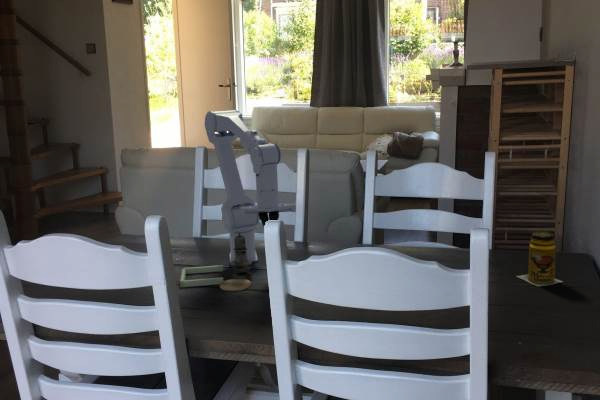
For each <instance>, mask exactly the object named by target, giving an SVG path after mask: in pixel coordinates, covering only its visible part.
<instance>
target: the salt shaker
mask: <svg viewBox="0 0 600 400" xmlns="http://www.w3.org/2000/svg"><path fill="white" fill-rule="evenodd" d="M234 241H235V248H234V251H235V260H234V261H232V262H231V263H230V262H229V264H230V266H231V268H232V270H233V271H234V273H233V274H232V275H231V277H232V279H249V278H250V277H252V275H253V274H252V272H250V270H251V267H252V264H253V262H252V261H251V260H248V259H247V256H246V250H247V248H246V244H245V237H244V236H241V235H240V232H239V235H238V236H236V237H235V239H234Z"/></svg>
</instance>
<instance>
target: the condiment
mask: <svg viewBox="0 0 600 400" xmlns="http://www.w3.org/2000/svg"><path fill="white" fill-rule="evenodd" d="M530 236H531V239H530V243H529V248H528V251H529V252H528V271H527V272H528V274H522V275H516V278H518V279H521V280H524V281H525V282H527V283H529V284H532V285H534V286H536V287H544V286H550V285H555V284H559V283H563V282H564V281H563V280H560V279H557V278H556V277H555V276H556V272H555V271H556V256H557V255H556V253H557V247H556V244H555V238H556V237H555V235H554V233H552V232H546V231H536V232H533V233H531V235H530Z"/></svg>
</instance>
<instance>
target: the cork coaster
mask: <svg viewBox="0 0 600 400" xmlns="http://www.w3.org/2000/svg"><path fill="white" fill-rule="evenodd" d="M251 286H252V281H250V280H249V279H247V278H242V279H238V278H231V279H227V280H223V282H222V283H220V284H219V288H220V289H221V290H222V291H226V292H238V291H243V290H244V291H245V290H246V289H249V288H251Z"/></svg>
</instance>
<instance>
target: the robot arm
mask: <svg viewBox="0 0 600 400" xmlns="http://www.w3.org/2000/svg"><path fill="white" fill-rule="evenodd" d="M204 129H205V133H206V135H207V139H208V142H209V143H211V144H213V147H214V151H215V155H216V159H217V161H218V166H219V170H220V174H221V177H222V182H223V185H224V189H225V194H226V197H227V199H226V201H224V203H223V204H222V205H221V207H220V209H221V210H220V212H221V220H222V221H221V222H222V225H223V227H224V228H225V229H226V231H229V246H230V252H229V264H230V263H231V262H232V261H234V260H235V251H234V248H235V241H234V239H235V237H236V236H238V235H239V232H240V235H241V236H244V237H245V244H246V248H247V250H246V256H247V259H248V260H251V261H252V263H253V262H258V254H257V251H256V239H255V230H256V229H257V226H258V225H259V223H260V222H261V223H262V227H264V225H265V222H266V221H268V220H279V218H280V213H288V212H289V213H290V212H291V213H296V212H297V208H296V207H297V205H296V203H279V182H278V179H279V177H278V165H279V164H280V163H281V159H282V154H281V149H280V147H279V145H278V144H277V143H276V142H268V141H267V140H266V139H265V138H264V137H263V136H262V135H261V134H260V133H259V132H258V130H256V129H250V128H249V127H248V126H247V125H246V123H245V122H244V117H243V114H242V112H241V111H240V110H239V109H236V108H234V109H232V110H231V109H229V110H228V109H227V110H216V111H215V110H213V111H212V110H211V111H210V110H208V111H207V112H206V114H205V117H204ZM237 139H239V145H240V146H241V147H242V148H243V149H244V151H245V152H247V153H248V154H249V157H250V162H251V165H252V169H253V170H252V171H253V173H254V174H255V187H256V188H255V189H256V203H255V200H254V198H252V197H250V196H247V194H245V189H244V187H243V184H242V183H243V182H242V179H241V175H240V171H239V168H238V165H237V161H236V158H235V154H234V150H233V146H232V144H233V142H235V141H236V140H237Z"/></svg>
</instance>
